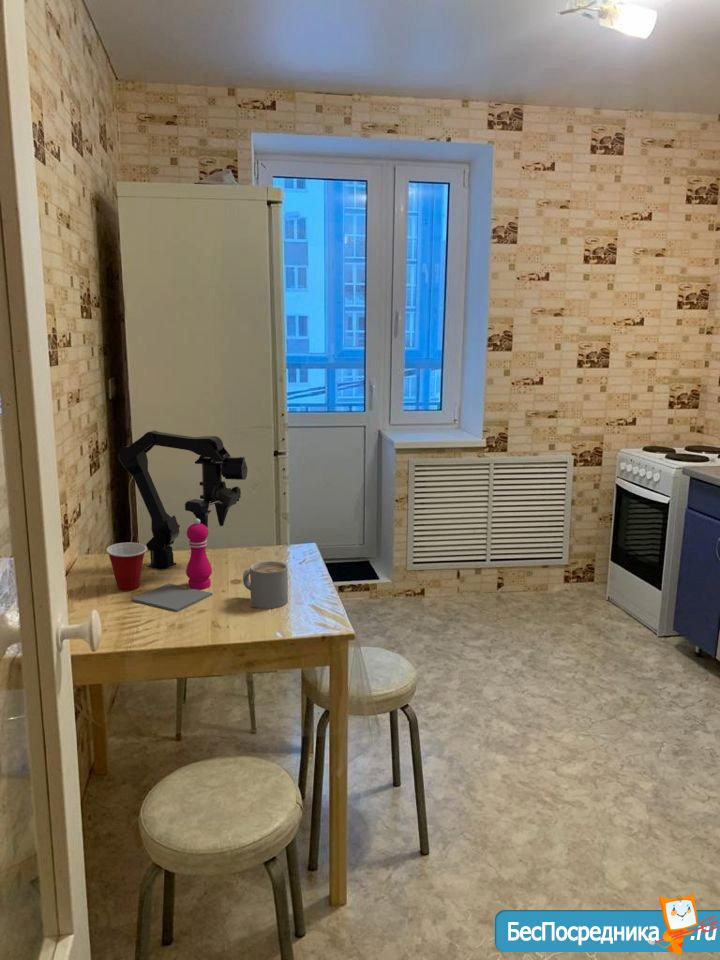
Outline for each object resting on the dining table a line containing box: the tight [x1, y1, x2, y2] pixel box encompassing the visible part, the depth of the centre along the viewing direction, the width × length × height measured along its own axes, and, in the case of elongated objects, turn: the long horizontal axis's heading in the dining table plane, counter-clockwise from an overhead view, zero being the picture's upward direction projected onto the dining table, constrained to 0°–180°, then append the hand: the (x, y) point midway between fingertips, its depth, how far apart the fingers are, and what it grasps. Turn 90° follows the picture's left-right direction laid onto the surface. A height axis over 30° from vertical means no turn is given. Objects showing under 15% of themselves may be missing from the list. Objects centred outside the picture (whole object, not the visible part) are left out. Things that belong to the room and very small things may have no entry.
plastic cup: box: [106, 541, 148, 592], centre depth 197 cm, size 11×11×12 cm
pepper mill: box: [185, 518, 213, 590], centre depth 199 cm, size 7×7×20 cm
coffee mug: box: [242, 560, 289, 610], centre depth 189 cm, size 13×10×10 cm
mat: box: [131, 583, 213, 613], centre depth 191 cm, size 16×14×1 cm
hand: (213, 528), depth 213 cm, fingers open, 7 cm apart
